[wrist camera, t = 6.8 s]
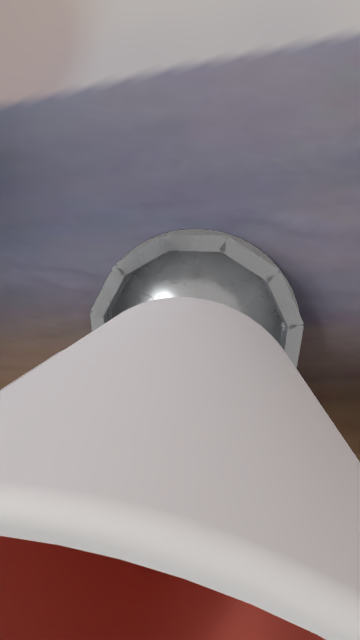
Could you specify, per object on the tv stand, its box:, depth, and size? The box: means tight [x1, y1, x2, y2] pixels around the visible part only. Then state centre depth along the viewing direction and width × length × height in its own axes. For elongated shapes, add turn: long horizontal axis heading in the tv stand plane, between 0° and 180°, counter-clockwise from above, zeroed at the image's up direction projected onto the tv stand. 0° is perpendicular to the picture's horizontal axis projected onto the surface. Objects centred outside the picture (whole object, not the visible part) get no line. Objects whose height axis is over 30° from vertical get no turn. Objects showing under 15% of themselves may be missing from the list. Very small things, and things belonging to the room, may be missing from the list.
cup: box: [0, 297, 360, 640], centre depth 8 cm, size 10×10×10 cm
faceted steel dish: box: [90, 229, 304, 369], centre depth 19 cm, size 16×16×2 cm
